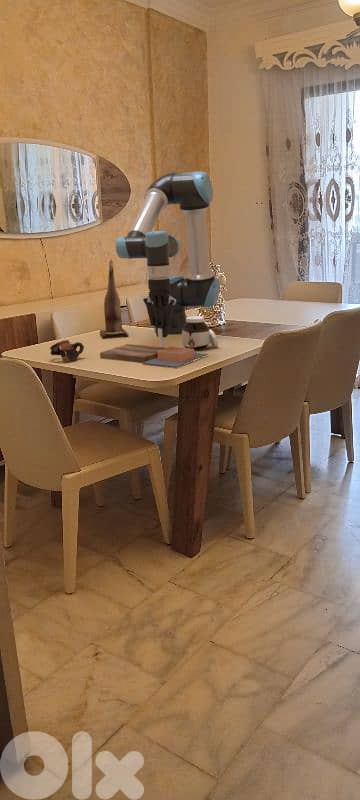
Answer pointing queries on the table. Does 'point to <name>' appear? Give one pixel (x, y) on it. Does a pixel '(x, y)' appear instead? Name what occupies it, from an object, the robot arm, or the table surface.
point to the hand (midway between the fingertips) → (162, 346)
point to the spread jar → (197, 334)
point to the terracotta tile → (175, 354)
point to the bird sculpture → (112, 307)
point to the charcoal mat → (172, 363)
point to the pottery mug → (67, 350)
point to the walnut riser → (132, 353)
